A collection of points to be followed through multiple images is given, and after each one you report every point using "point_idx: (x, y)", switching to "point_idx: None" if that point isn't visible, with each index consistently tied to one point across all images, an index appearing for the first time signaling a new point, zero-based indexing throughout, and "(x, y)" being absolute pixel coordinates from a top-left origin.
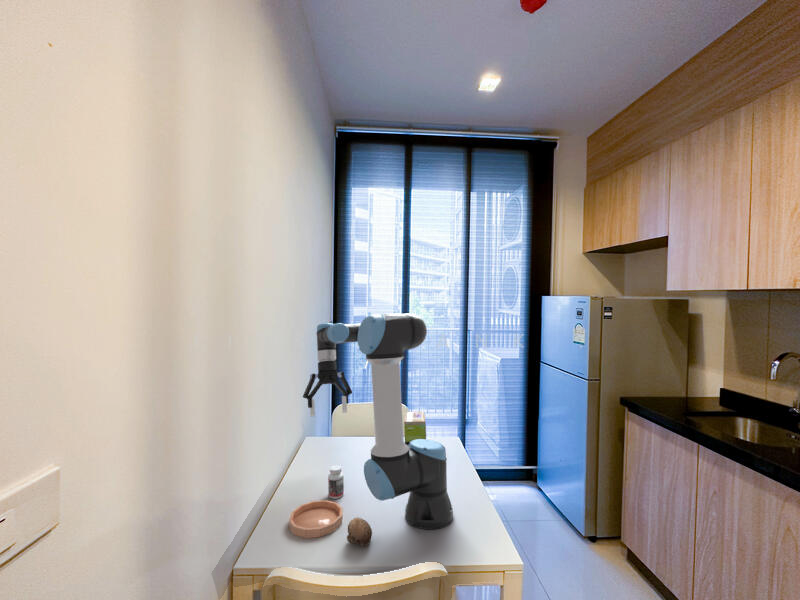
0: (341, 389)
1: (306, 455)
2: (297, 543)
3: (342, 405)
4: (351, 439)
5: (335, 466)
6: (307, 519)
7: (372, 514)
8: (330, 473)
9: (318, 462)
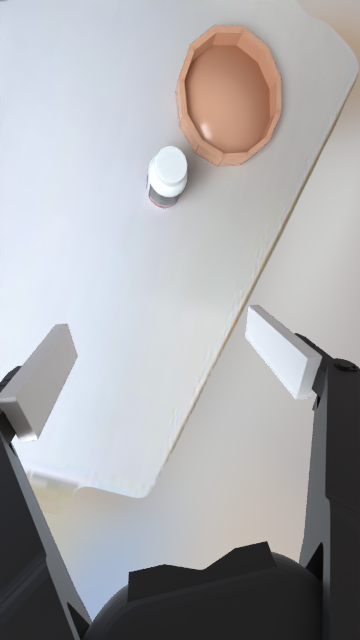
0: (5, 466)
1: (168, 407)
2: (274, 54)
3: (63, 379)
4: (47, 458)
5: (169, 174)
6: (241, 119)
7: (114, 47)
8: (180, 183)
9: (154, 364)
